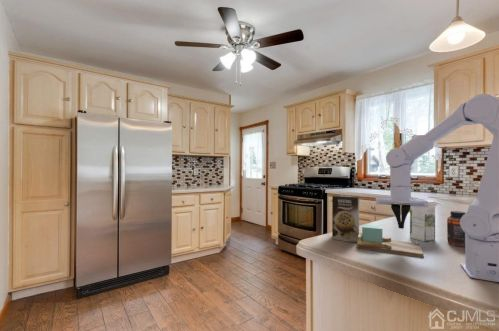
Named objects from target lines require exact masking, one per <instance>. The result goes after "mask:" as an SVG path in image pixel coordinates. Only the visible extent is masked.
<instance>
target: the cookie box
mask: <svg viewBox="0 0 499 331" xmlns="http://www.w3.org/2000/svg"><path fill="white" fill-rule="evenodd" d="M331 199H332V201H331V202H332V204H331V205H332V209H331V210H332V212H331V214H332V217H331V218H332V221H331V222H332V224H331V226H332V228H331V229H332V230H331V231H332V233H331V239H332V240H336V241H344V242H351V243H352V242H354V243H358V235H359V233H360V196H359V195H346V194H345V195H344V194H334V195H332V198H331Z"/></svg>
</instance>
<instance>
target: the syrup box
mask: <svg viewBox="0 0 499 331" xmlns="http://www.w3.org/2000/svg"><path fill="white" fill-rule="evenodd" d="M418 200H424V201H428V208H427V207H416V206H410V210H409V238H411V239H413V240H417V241H422V242H431V241H435V240H436V203H437V202H436V201H435V200H431V199H424V198H423V199H422V198H421V199H418Z"/></svg>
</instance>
